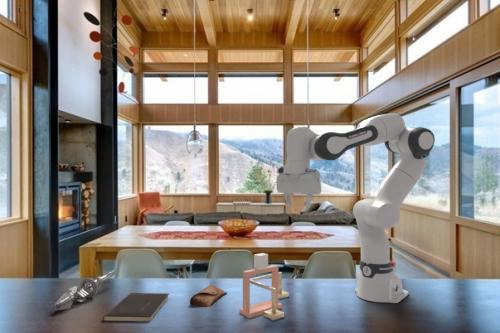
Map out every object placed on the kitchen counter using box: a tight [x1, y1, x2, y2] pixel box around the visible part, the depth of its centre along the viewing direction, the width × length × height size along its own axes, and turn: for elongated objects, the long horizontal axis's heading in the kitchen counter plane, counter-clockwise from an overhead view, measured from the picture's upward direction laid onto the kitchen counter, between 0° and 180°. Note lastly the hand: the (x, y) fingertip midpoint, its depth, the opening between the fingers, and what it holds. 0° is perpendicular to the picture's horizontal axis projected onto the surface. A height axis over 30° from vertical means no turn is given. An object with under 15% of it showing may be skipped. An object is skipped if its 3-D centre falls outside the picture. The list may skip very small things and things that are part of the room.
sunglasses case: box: [189, 283, 228, 308], centre depth 138 cm, size 18×7×7 cm
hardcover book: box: [102, 292, 170, 322], centre depth 128 cm, size 16×23×2 cm
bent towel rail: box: [250, 271, 290, 321], centre depth 131 cm, size 21×19×10 cm
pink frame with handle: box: [238, 252, 283, 319], centre depth 126 cm, size 6×15×20 cm, turn 128°
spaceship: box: [54, 269, 117, 311], centre depth 139 cm, size 8×35×8 cm
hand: (297, 205), depth 132 cm, fingers open, 8 cm apart
